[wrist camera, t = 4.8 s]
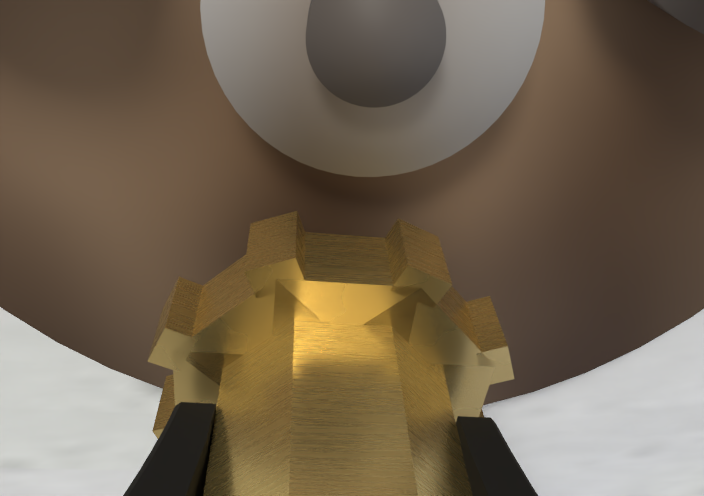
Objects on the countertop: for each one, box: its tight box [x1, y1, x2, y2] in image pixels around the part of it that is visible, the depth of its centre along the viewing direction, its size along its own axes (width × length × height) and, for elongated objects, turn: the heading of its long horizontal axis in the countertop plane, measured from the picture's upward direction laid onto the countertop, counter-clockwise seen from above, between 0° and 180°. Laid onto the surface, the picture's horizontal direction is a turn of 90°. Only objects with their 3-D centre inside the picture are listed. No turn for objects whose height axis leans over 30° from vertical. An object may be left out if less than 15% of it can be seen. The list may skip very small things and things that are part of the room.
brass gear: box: [147, 211, 514, 496], centre depth 12 cm, size 7×7×6 cm
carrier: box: [0, 0, 704, 405], centre depth 10 cm, size 21×21×6 cm
